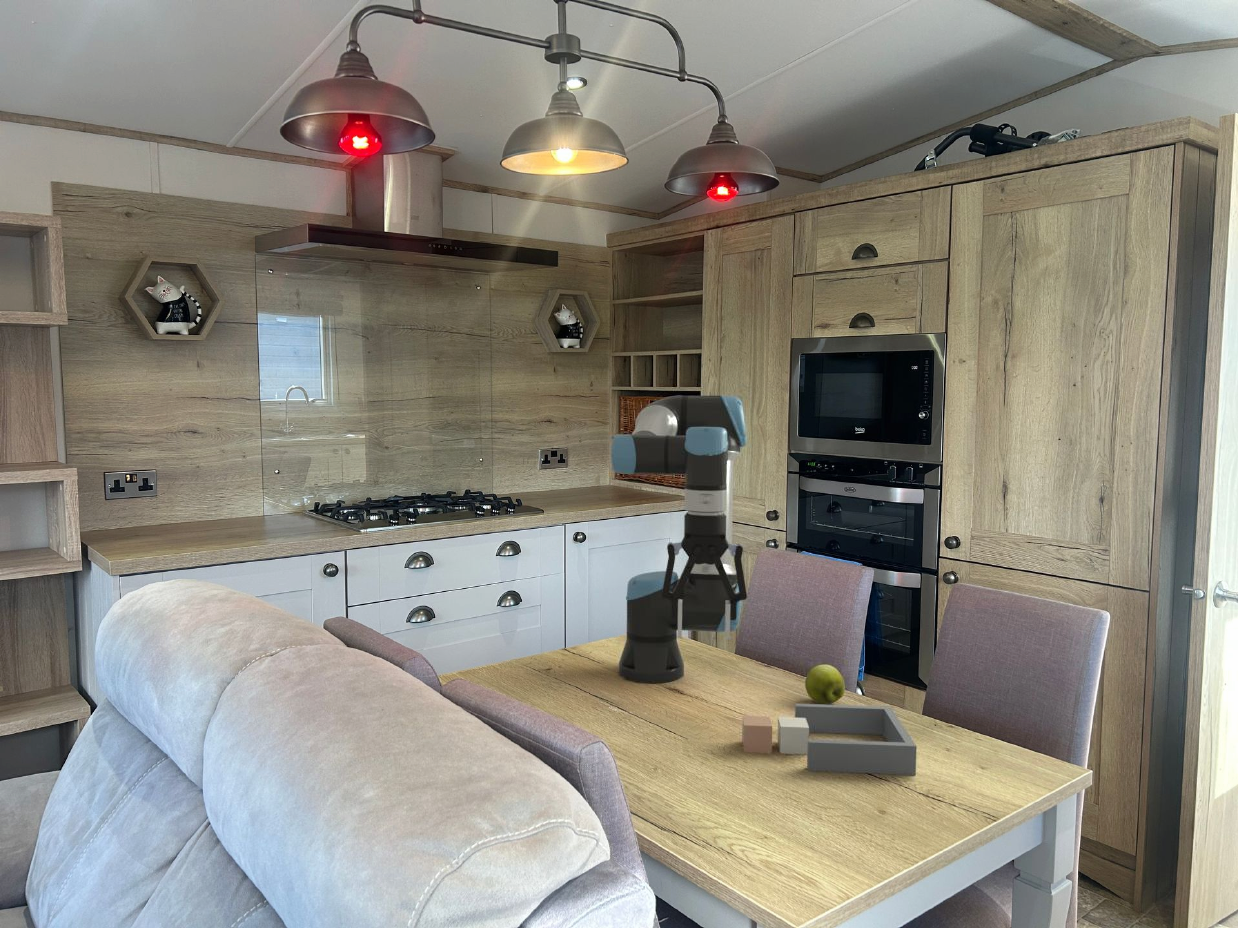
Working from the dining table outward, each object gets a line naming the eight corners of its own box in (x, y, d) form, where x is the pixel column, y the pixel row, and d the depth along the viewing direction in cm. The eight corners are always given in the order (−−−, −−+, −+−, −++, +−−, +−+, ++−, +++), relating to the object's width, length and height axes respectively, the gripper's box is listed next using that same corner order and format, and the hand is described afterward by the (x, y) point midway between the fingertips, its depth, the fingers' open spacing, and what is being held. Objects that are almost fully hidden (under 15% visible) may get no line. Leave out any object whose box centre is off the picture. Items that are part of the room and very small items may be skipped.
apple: (828, 694, 196) (829, 658, 196) (852, 708, 188) (853, 670, 187) (796, 698, 194) (797, 661, 193) (819, 711, 185) (820, 673, 184)
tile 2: (777, 743, 168) (778, 716, 168) (804, 744, 168) (805, 717, 167) (780, 753, 163) (780, 726, 163) (808, 754, 163) (809, 727, 162)
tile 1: (742, 741, 169) (742, 715, 168) (769, 742, 168) (769, 716, 168) (743, 752, 164) (744, 725, 163) (771, 753, 163) (772, 726, 163)
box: (794, 728, 175) (795, 703, 175) (889, 732, 174) (890, 706, 174) (808, 770, 155) (808, 742, 155) (915, 774, 154) (916, 746, 154)
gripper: (646, 514, 161) (645, 640, 162) (765, 516, 159) (762, 643, 161) (648, 509, 168) (647, 630, 170) (761, 511, 167) (759, 633, 168)
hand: (703, 636), depth 165 cm, fingers open, 8 cm apart
